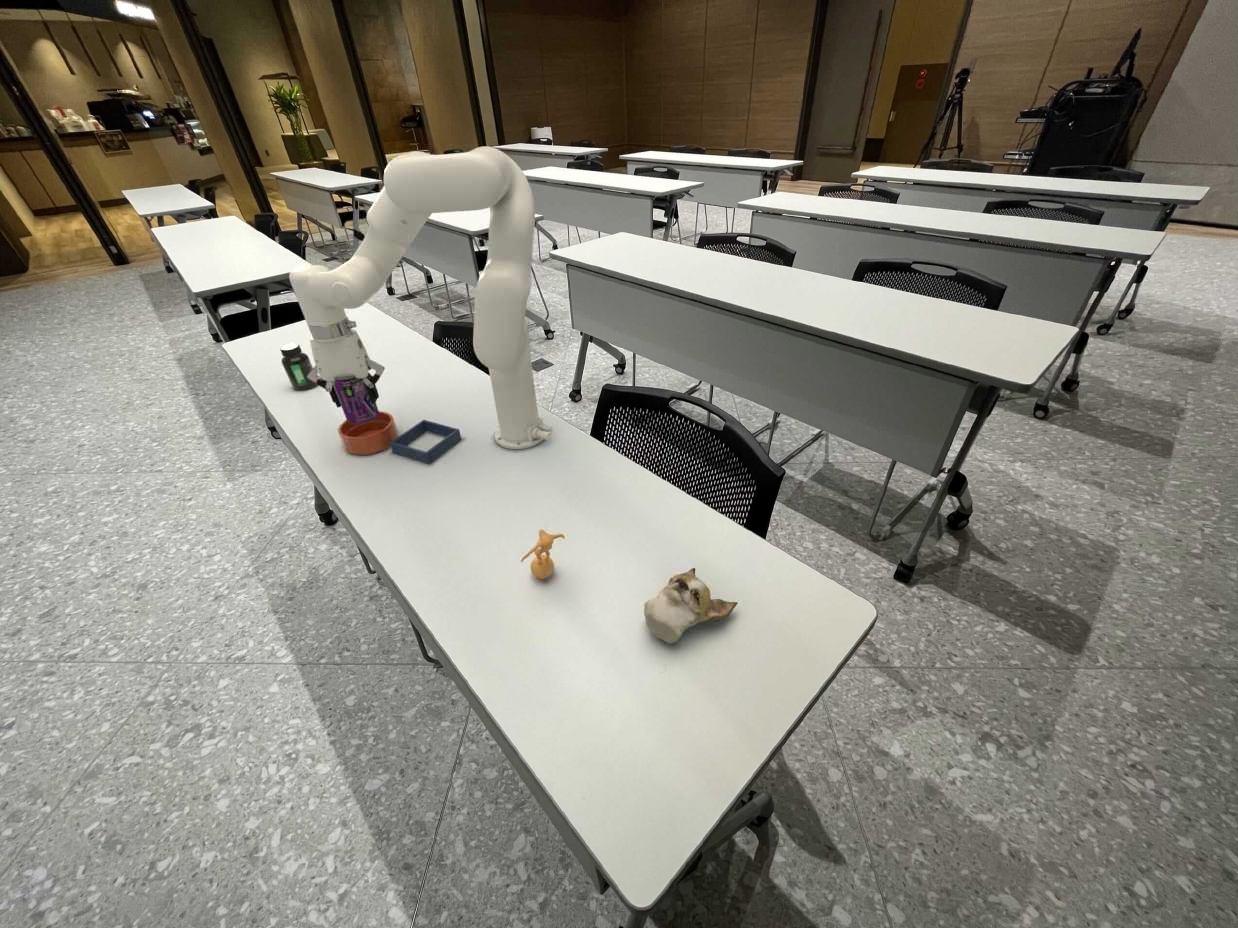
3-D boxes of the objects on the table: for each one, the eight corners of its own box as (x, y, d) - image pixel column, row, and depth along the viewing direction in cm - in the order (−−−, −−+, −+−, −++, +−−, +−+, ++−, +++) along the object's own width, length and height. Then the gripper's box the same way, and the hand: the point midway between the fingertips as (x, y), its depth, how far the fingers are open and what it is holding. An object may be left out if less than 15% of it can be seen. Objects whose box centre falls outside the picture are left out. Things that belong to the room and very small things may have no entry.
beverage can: (368, 427, 115) (351, 380, 108) (341, 425, 116) (322, 378, 109) (386, 412, 121) (370, 366, 114) (359, 409, 122) (342, 364, 115)
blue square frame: (461, 439, 122) (459, 429, 121) (429, 464, 114) (426, 453, 113) (426, 429, 126) (423, 419, 125) (393, 453, 118) (389, 442, 117)
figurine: (557, 556, 91) (550, 506, 83) (576, 576, 87) (571, 525, 80) (517, 579, 86) (506, 529, 79) (535, 601, 83) (526, 550, 75)
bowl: (409, 434, 125) (404, 417, 122) (371, 461, 116) (364, 443, 113) (373, 424, 129) (367, 407, 126) (334, 449, 120) (326, 431, 117)
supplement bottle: (309, 391, 144) (292, 352, 137) (288, 390, 145) (270, 351, 138) (324, 380, 150) (308, 342, 143) (303, 379, 151) (287, 341, 144)
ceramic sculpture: (625, 583, 74) (695, 540, 82) (623, 621, 79) (689, 577, 87) (676, 631, 67) (747, 580, 75) (670, 670, 72) (737, 617, 80)
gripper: (377, 318, 110) (399, 391, 120) (291, 325, 107) (322, 399, 118) (369, 331, 104) (394, 406, 114) (279, 339, 101) (312, 415, 112)
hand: (357, 402), depth 116 cm, fingers closed on beverage can, 6 cm apart
